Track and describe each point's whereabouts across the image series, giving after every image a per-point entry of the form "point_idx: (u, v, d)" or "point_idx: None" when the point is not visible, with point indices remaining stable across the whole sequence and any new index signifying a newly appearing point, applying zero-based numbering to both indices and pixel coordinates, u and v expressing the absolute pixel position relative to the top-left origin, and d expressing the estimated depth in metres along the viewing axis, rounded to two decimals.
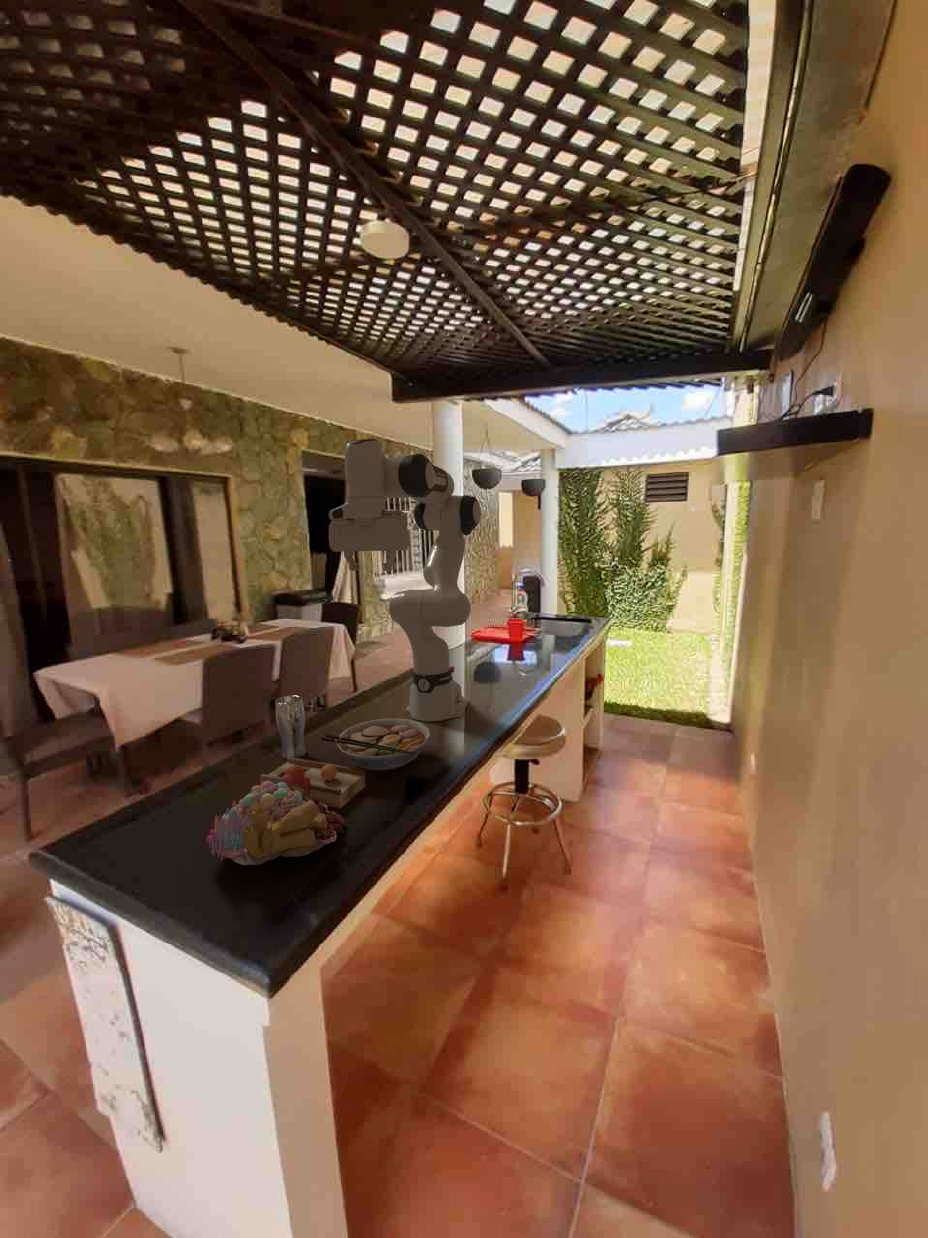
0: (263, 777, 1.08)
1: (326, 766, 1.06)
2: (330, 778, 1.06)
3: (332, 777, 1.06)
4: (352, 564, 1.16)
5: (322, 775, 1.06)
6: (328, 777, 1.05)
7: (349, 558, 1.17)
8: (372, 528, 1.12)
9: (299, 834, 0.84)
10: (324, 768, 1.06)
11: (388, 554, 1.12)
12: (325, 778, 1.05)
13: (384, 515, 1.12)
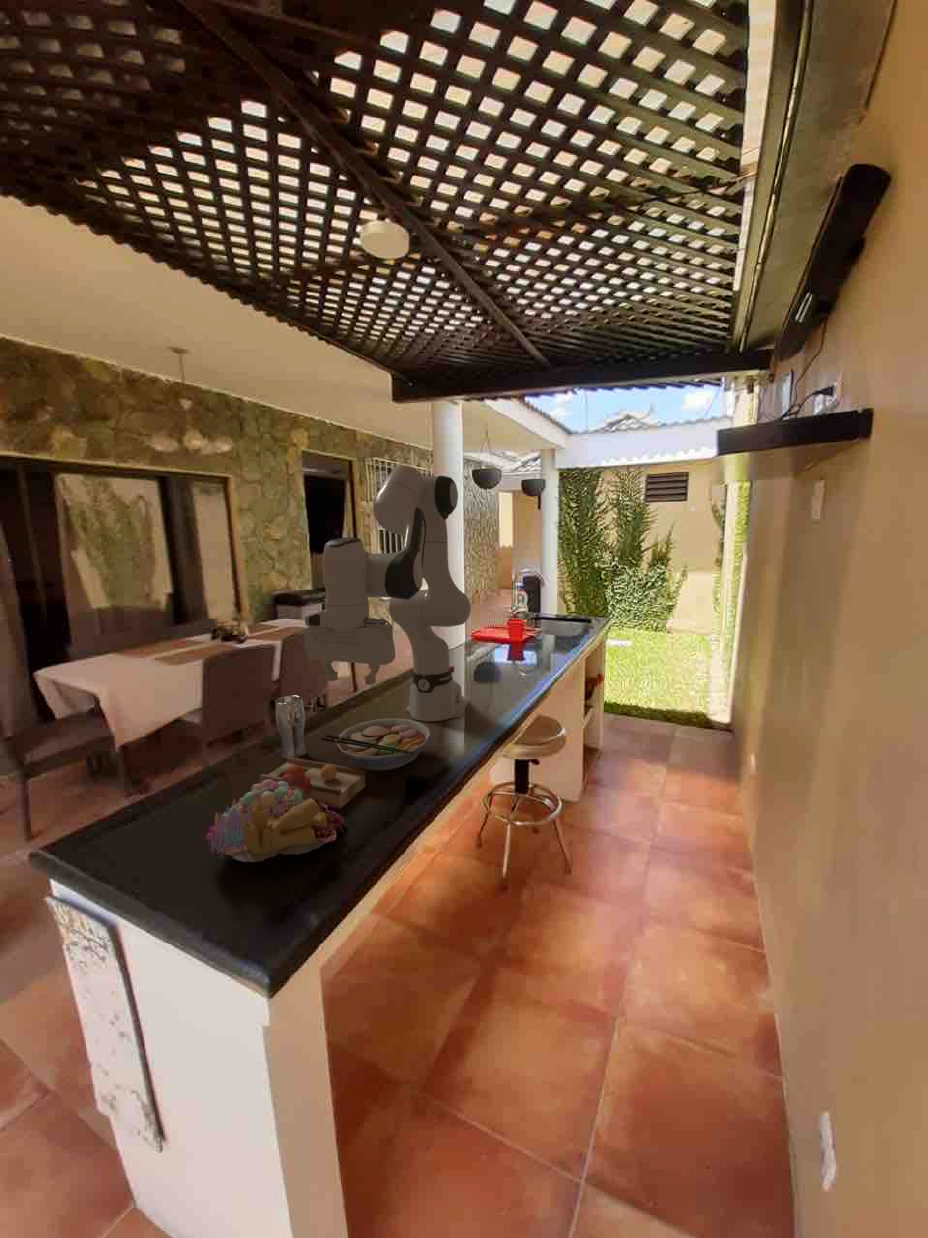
0: (263, 777, 1.08)
1: (326, 766, 1.06)
2: (330, 778, 1.06)
3: (332, 777, 1.06)
4: (330, 674, 1.03)
5: (322, 775, 1.06)
6: (328, 777, 1.05)
7: (327, 667, 1.04)
8: (353, 638, 0.99)
9: (299, 832, 0.84)
10: (324, 768, 1.06)
11: (371, 667, 0.99)
12: (325, 778, 1.05)
13: (366, 624, 0.98)
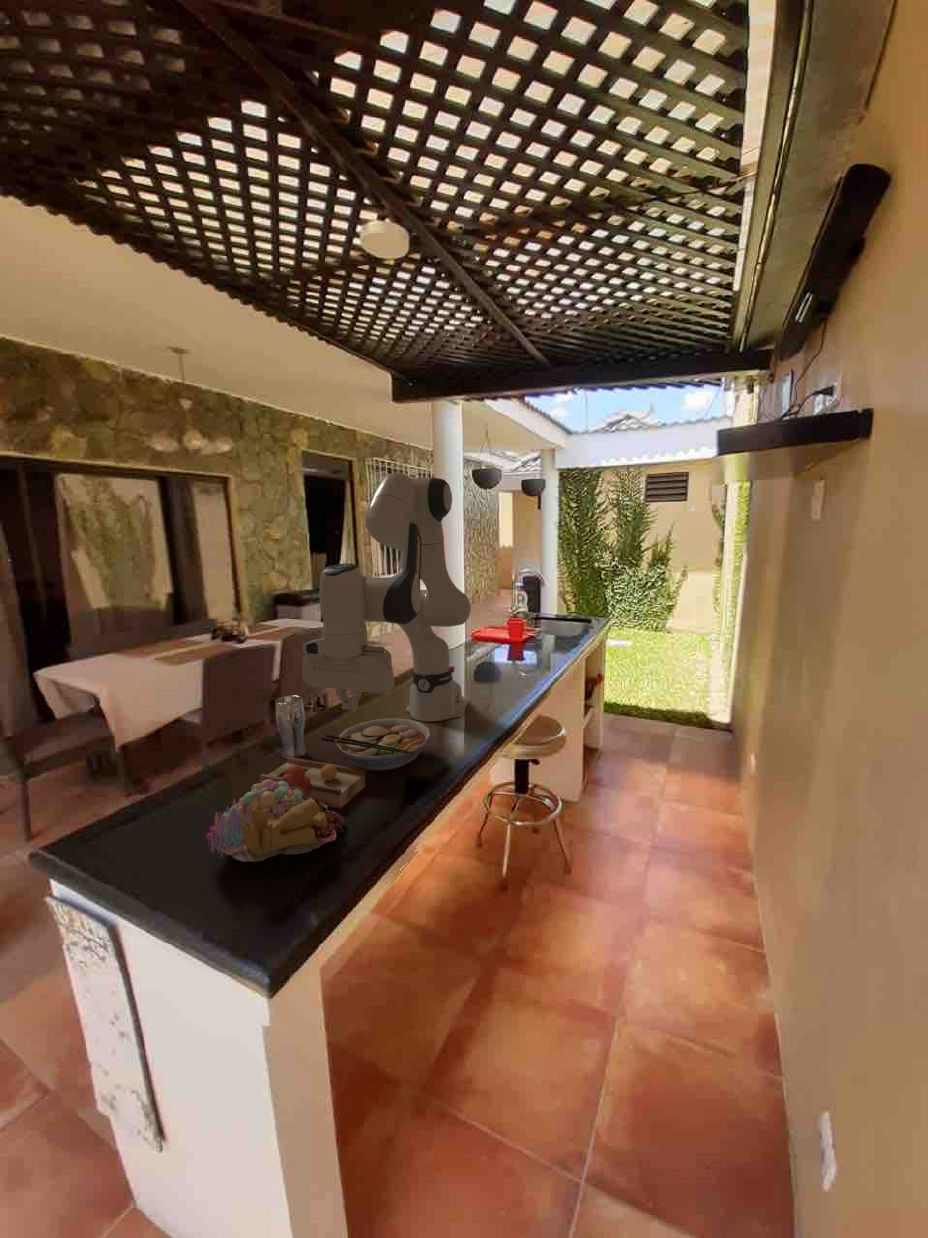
0: (263, 777, 1.08)
1: (326, 766, 1.06)
2: (330, 778, 1.06)
3: (332, 777, 1.06)
4: (345, 703, 1.01)
5: (322, 775, 1.06)
6: (328, 777, 1.05)
7: (342, 695, 1.01)
8: (351, 666, 0.98)
9: (299, 832, 0.84)
10: (324, 768, 1.06)
11: (353, 694, 0.99)
12: (325, 778, 1.05)
13: (365, 652, 0.97)
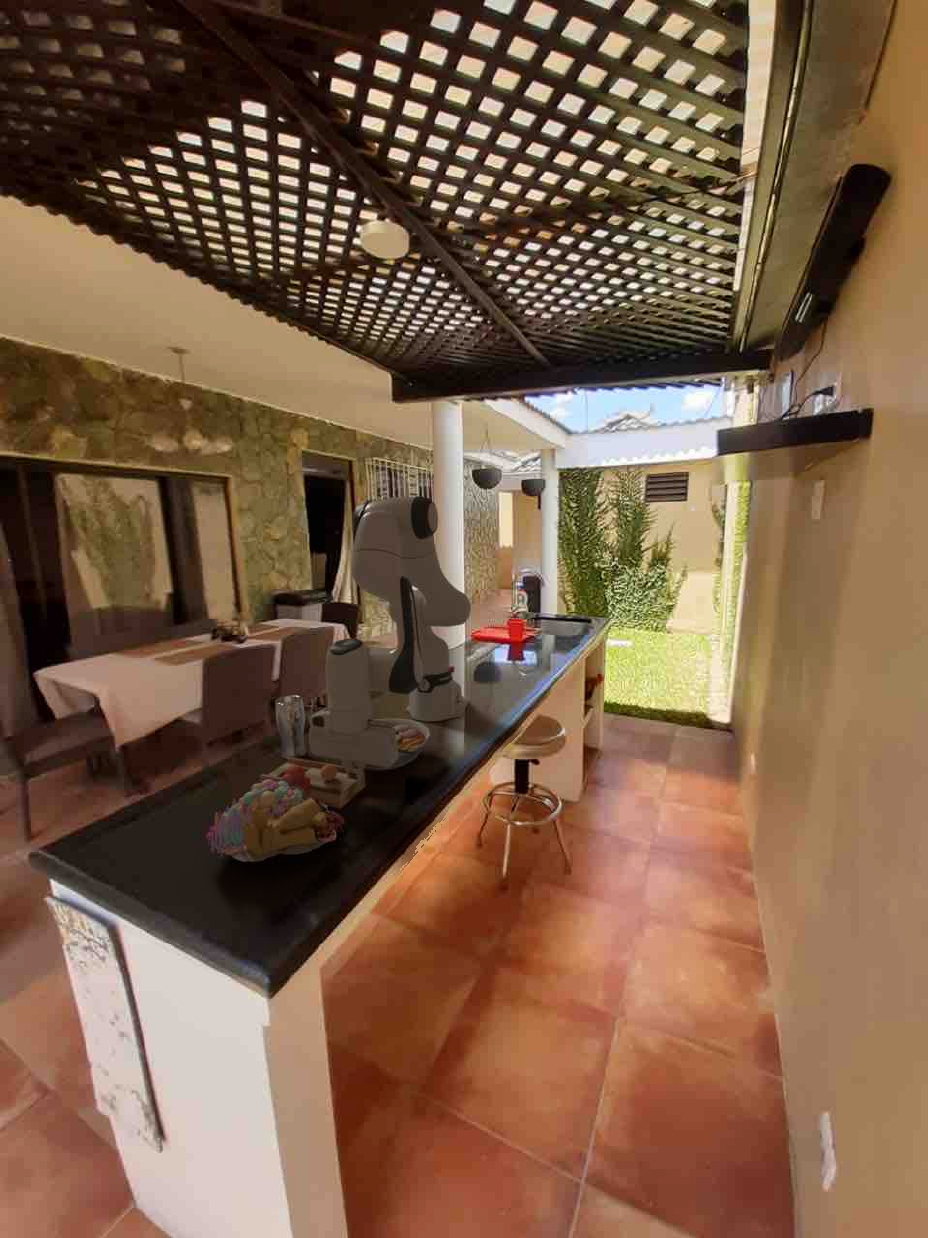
0: (263, 777, 1.08)
1: (326, 766, 1.06)
2: (330, 778, 1.06)
3: (332, 777, 1.06)
4: (351, 773, 1.03)
5: (322, 775, 1.06)
6: (328, 777, 1.05)
7: (347, 765, 1.04)
8: (356, 739, 1.01)
9: (299, 832, 0.84)
10: (324, 768, 1.06)
11: (358, 765, 1.02)
12: (325, 778, 1.05)
13: (370, 726, 1.00)
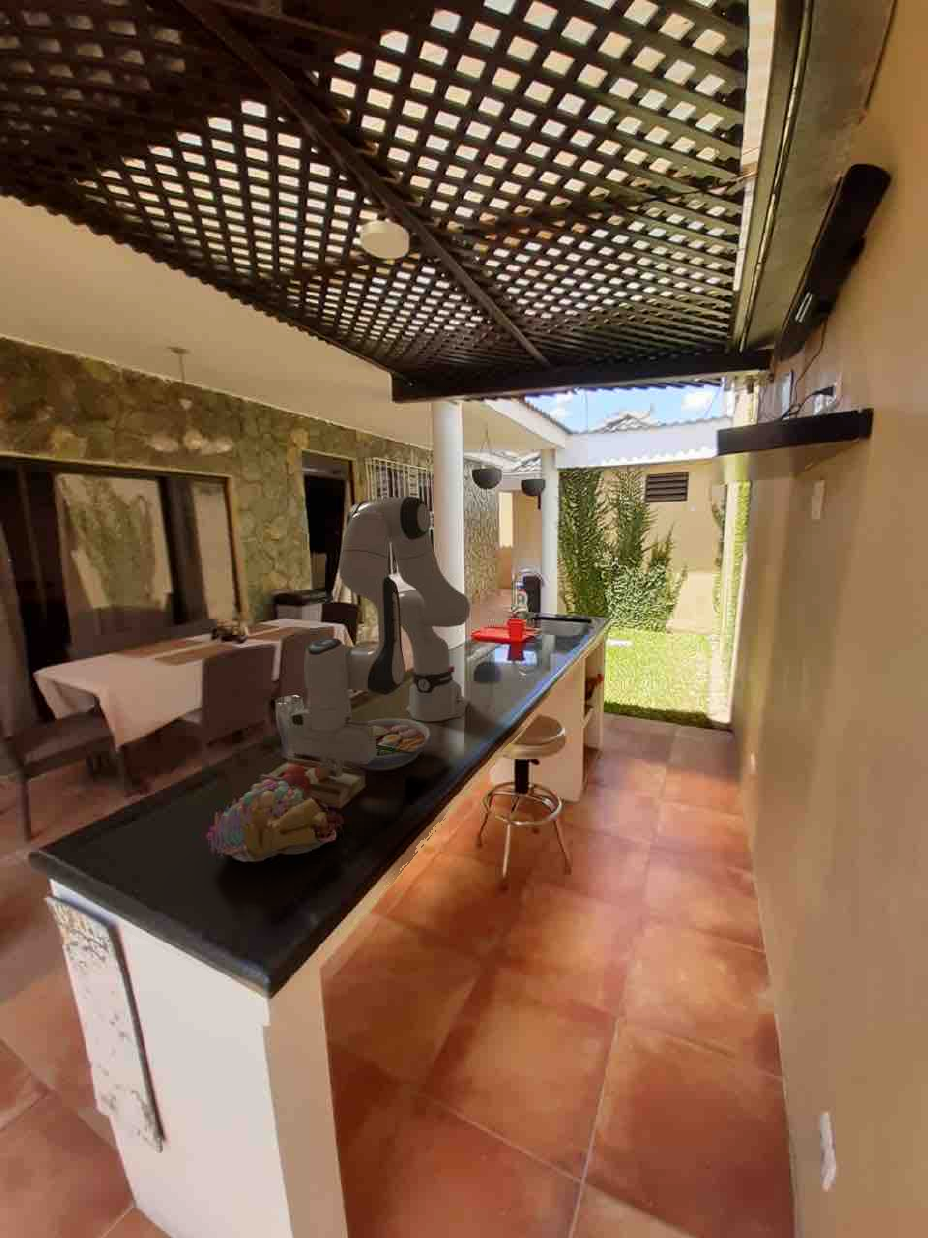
0: (263, 777, 1.08)
1: None
2: (324, 772, 1.06)
3: (325, 770, 1.06)
4: (330, 770, 1.05)
5: (316, 776, 1.06)
6: (321, 772, 1.06)
7: (327, 763, 1.06)
8: (335, 737, 1.03)
9: (299, 832, 0.84)
10: None
11: (337, 762, 1.04)
12: (320, 775, 1.06)
13: (348, 724, 1.02)
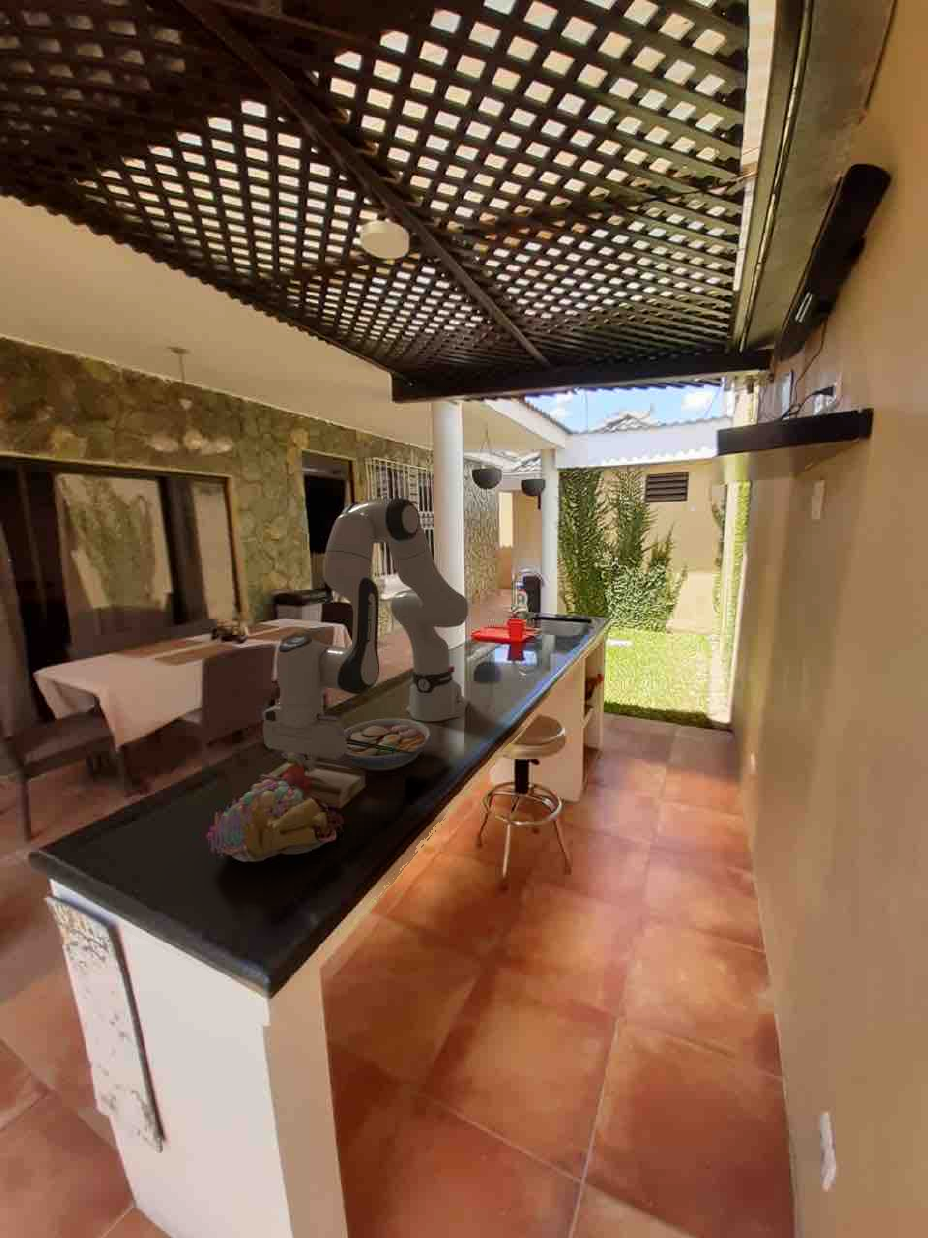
0: (263, 777, 1.08)
1: None
2: None
3: None
4: (303, 765, 1.08)
5: None
6: None
7: (300, 758, 1.09)
8: (307, 733, 1.05)
9: (299, 832, 0.84)
10: (284, 774, 1.10)
11: (309, 757, 1.07)
12: None
13: (319, 720, 1.05)
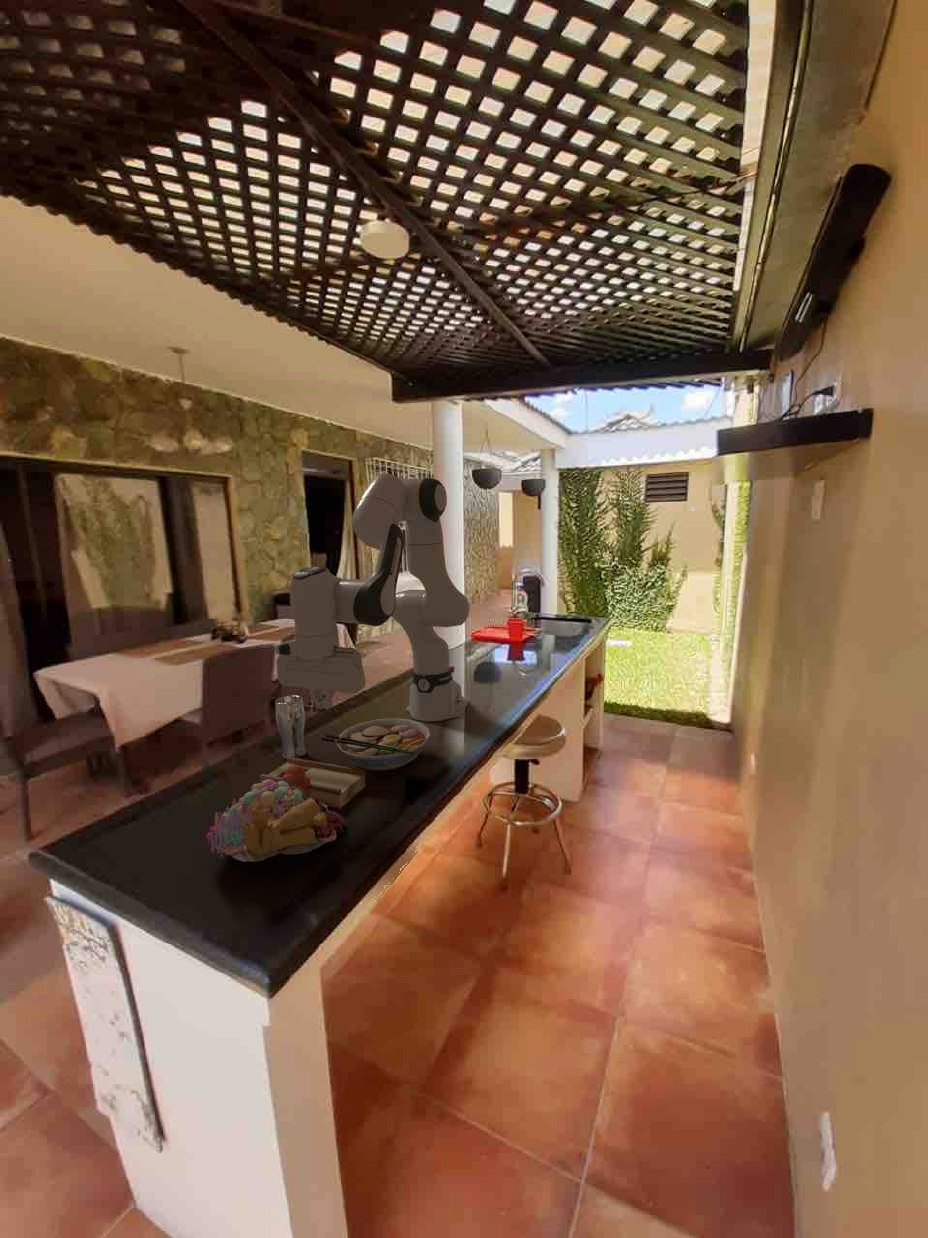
0: (263, 777, 1.08)
1: None
2: None
3: None
4: (319, 702, 1.04)
5: None
6: None
7: (315, 694, 1.04)
8: (323, 666, 1.00)
9: (299, 832, 0.84)
10: None
11: (325, 693, 1.02)
12: None
13: (336, 652, 1.00)
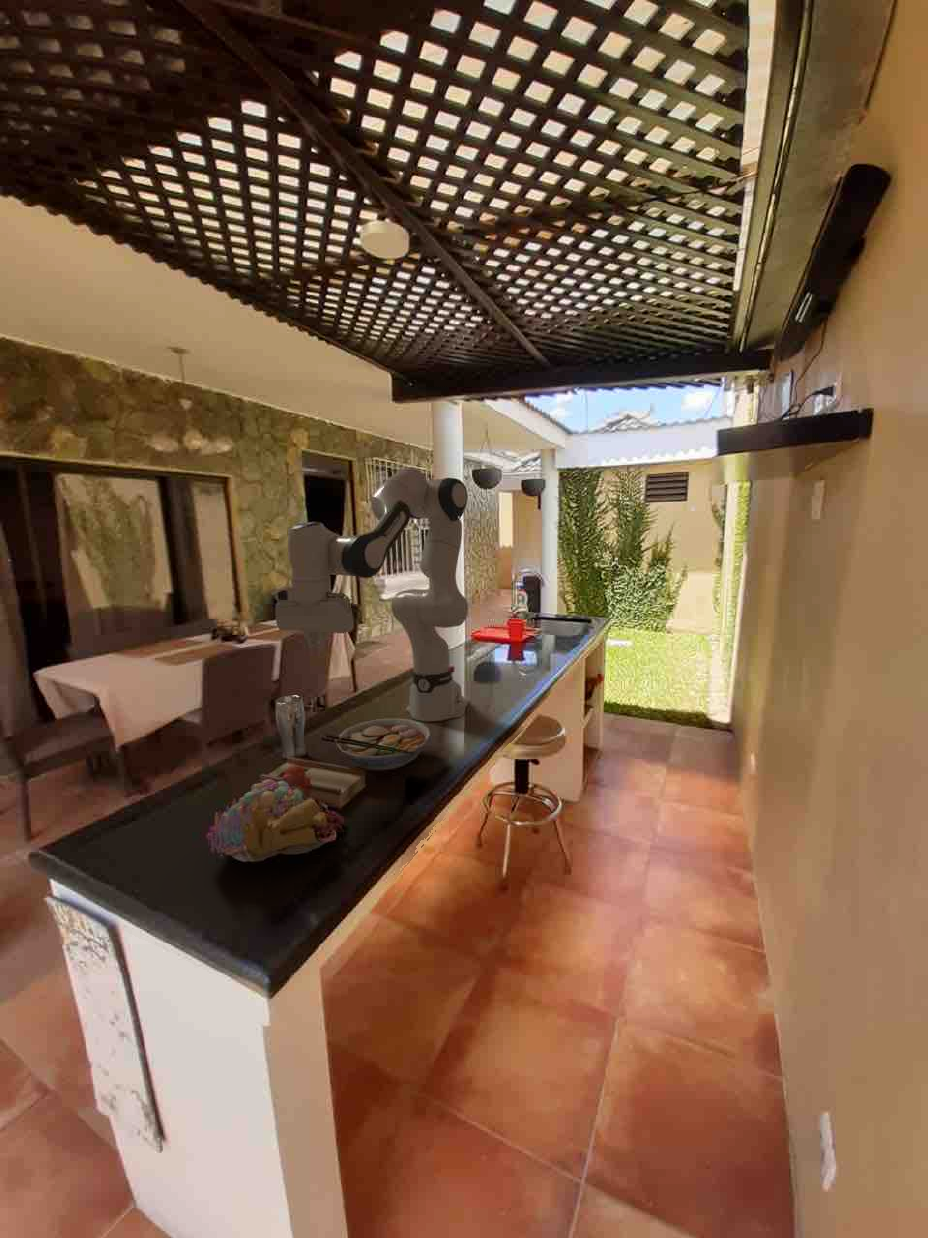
0: (263, 777, 1.08)
1: None
2: None
3: None
4: (312, 643, 1.16)
5: None
6: None
7: (309, 637, 1.17)
8: (316, 610, 1.13)
9: (299, 832, 0.84)
10: None
11: (318, 635, 1.15)
12: None
13: (328, 597, 1.13)
